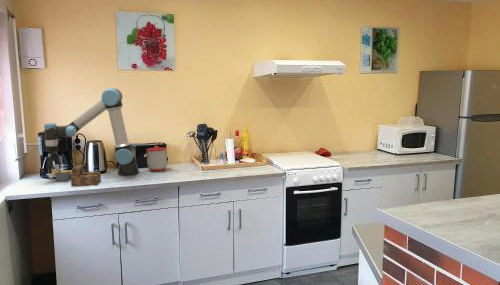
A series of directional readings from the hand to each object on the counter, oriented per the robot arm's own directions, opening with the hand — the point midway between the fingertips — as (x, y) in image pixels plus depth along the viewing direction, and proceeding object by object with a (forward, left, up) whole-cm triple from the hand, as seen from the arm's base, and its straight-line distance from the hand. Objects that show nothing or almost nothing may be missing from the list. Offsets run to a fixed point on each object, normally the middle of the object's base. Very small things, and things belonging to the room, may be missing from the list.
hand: (54, 175), depth 259 cm
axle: (-5, 0, +2) cm, 5 cm away
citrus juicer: (-68, -20, -4) cm, 71 cm away
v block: (-6, 0, -4) cm, 7 cm away
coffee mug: (-3, -21, -4) cm, 22 cm away
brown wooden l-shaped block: (-24, +13, -4) cm, 27 cm away
